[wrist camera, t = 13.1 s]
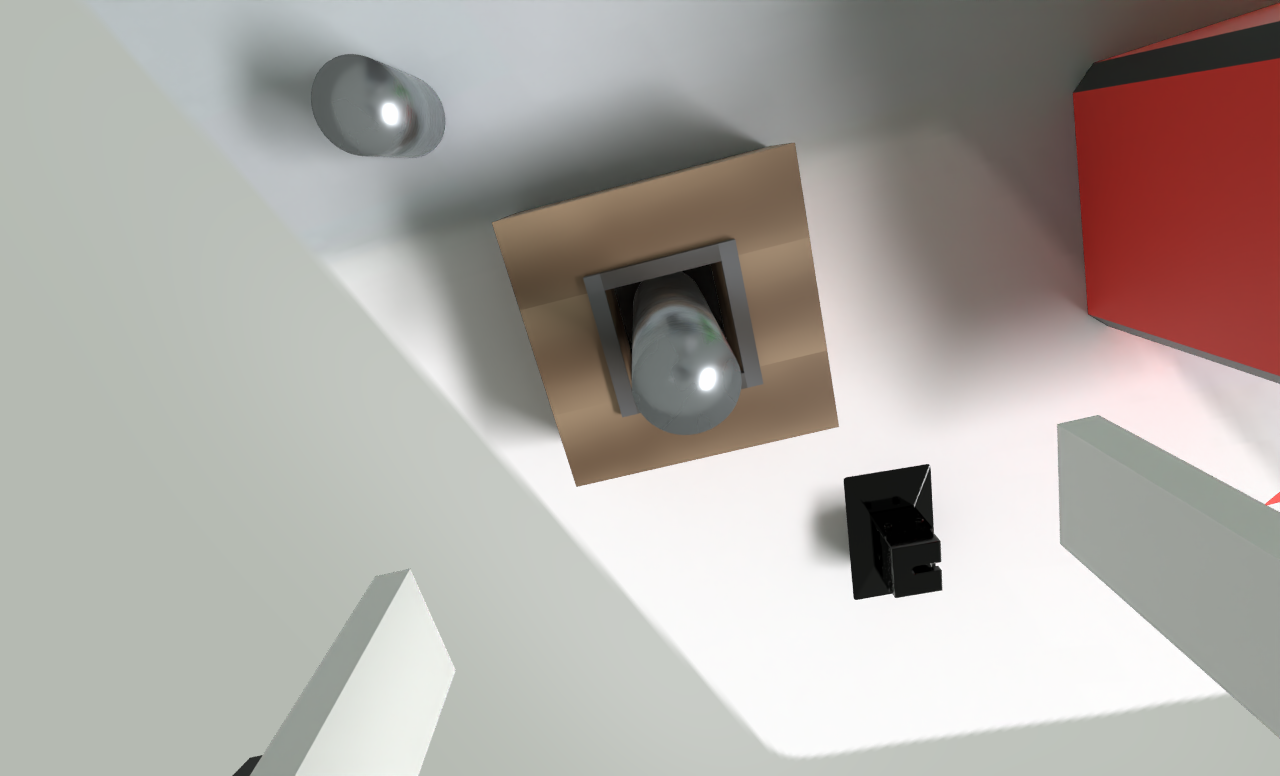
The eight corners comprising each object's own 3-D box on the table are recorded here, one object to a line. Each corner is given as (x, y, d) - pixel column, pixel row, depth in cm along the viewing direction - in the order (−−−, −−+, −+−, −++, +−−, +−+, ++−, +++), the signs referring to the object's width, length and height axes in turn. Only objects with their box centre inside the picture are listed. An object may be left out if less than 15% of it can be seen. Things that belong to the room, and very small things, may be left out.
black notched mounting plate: (943, 595, 43) (978, 642, 39) (839, 612, 44) (862, 661, 39) (938, 435, 39) (976, 468, 35) (823, 456, 40) (847, 490, 35)
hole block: (515, 213, 34) (489, 223, 28) (767, 146, 33) (796, 142, 27) (585, 440, 39) (575, 490, 33) (807, 387, 38) (841, 429, 32)
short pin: (355, 86, 32) (295, 68, 26) (429, 64, 32) (384, 42, 26) (384, 166, 33) (333, 166, 28) (456, 146, 33) (419, 142, 27)
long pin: (625, 279, 35) (619, 346, 22) (694, 261, 35) (729, 319, 22) (642, 345, 37) (646, 445, 23) (709, 328, 36) (751, 421, 23)
